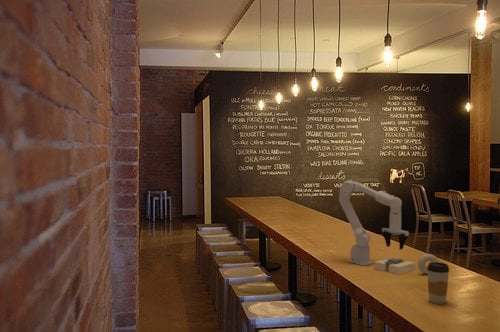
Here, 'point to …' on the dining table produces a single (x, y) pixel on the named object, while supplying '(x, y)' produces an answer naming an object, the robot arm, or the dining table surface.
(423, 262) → the donut
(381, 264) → the chassis
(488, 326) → the dining table surface
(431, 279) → the coffee cup
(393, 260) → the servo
